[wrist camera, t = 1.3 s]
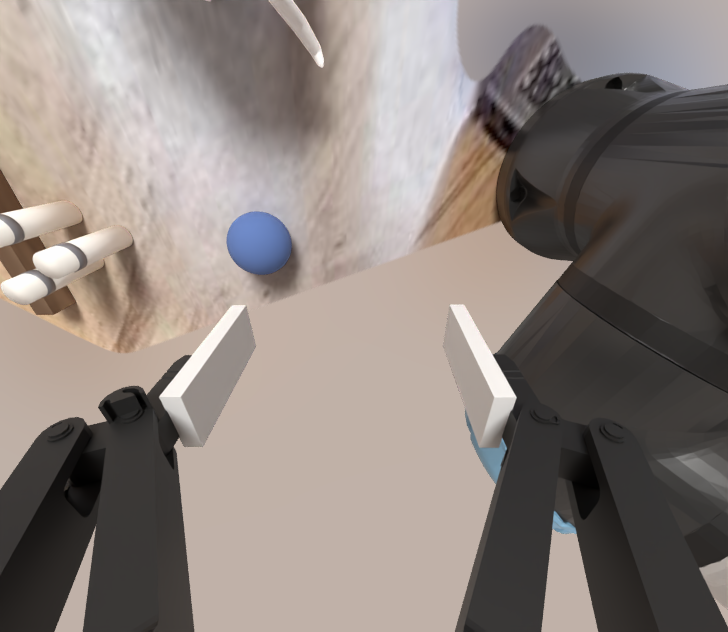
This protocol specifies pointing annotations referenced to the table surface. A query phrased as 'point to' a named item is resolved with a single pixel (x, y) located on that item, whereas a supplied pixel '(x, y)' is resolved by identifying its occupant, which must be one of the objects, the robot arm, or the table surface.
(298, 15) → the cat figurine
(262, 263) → the ball
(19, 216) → the pin
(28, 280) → the pin
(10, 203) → the back wall
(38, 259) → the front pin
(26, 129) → the table surface
